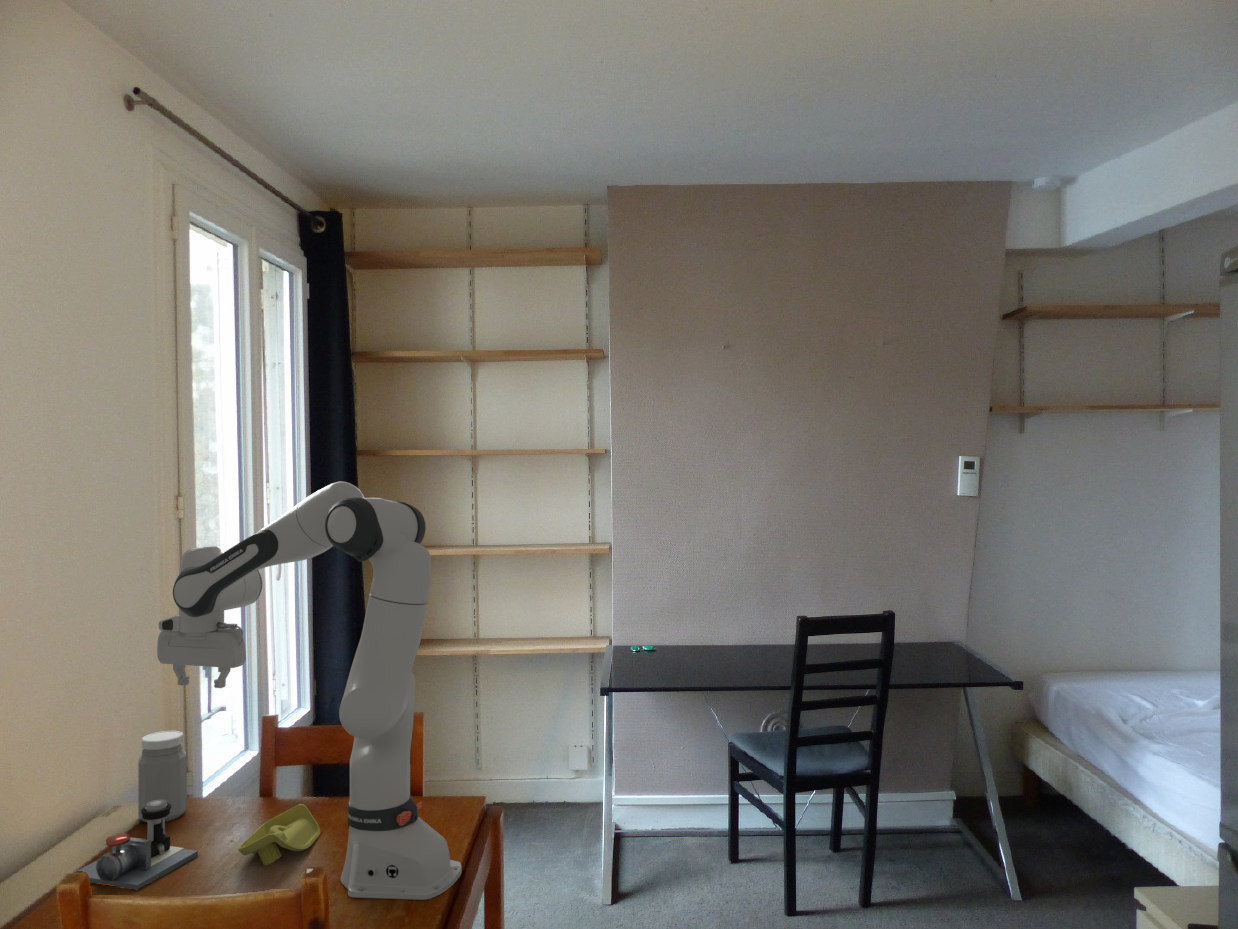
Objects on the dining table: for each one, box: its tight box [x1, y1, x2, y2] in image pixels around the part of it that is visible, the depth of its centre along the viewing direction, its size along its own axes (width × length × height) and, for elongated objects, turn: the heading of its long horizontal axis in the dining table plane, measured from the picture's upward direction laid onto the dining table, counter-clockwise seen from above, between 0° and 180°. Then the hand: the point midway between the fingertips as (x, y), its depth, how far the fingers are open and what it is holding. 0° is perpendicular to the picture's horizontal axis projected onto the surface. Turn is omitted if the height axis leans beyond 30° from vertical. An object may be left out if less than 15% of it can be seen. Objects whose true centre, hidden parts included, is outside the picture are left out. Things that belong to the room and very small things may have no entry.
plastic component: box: [237, 803, 321, 866], centre depth 174 cm, size 20×7×10 cm
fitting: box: [96, 833, 151, 882], centre depth 163 cm, size 8×6×7 cm
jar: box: [137, 730, 187, 824], centre depth 193 cm, size 10×10×18 cm
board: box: [74, 845, 199, 890], centre depth 167 cm, size 16×15×1 cm
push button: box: [141, 800, 171, 858], centre depth 171 cm, size 7×5×10 cm
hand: (201, 686), depth 185 cm, fingers open, 8 cm apart
